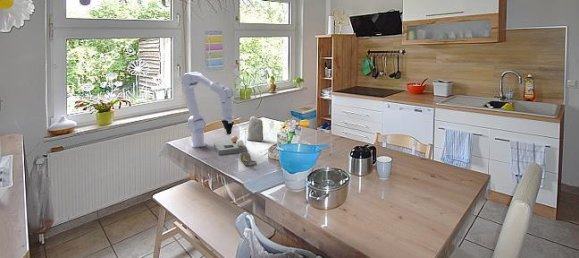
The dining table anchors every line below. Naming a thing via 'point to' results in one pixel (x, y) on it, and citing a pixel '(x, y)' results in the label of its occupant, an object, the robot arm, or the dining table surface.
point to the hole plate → (228, 147)
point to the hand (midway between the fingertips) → (228, 133)
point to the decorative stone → (255, 129)
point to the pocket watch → (246, 157)
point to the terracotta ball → (234, 138)
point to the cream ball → (239, 142)
